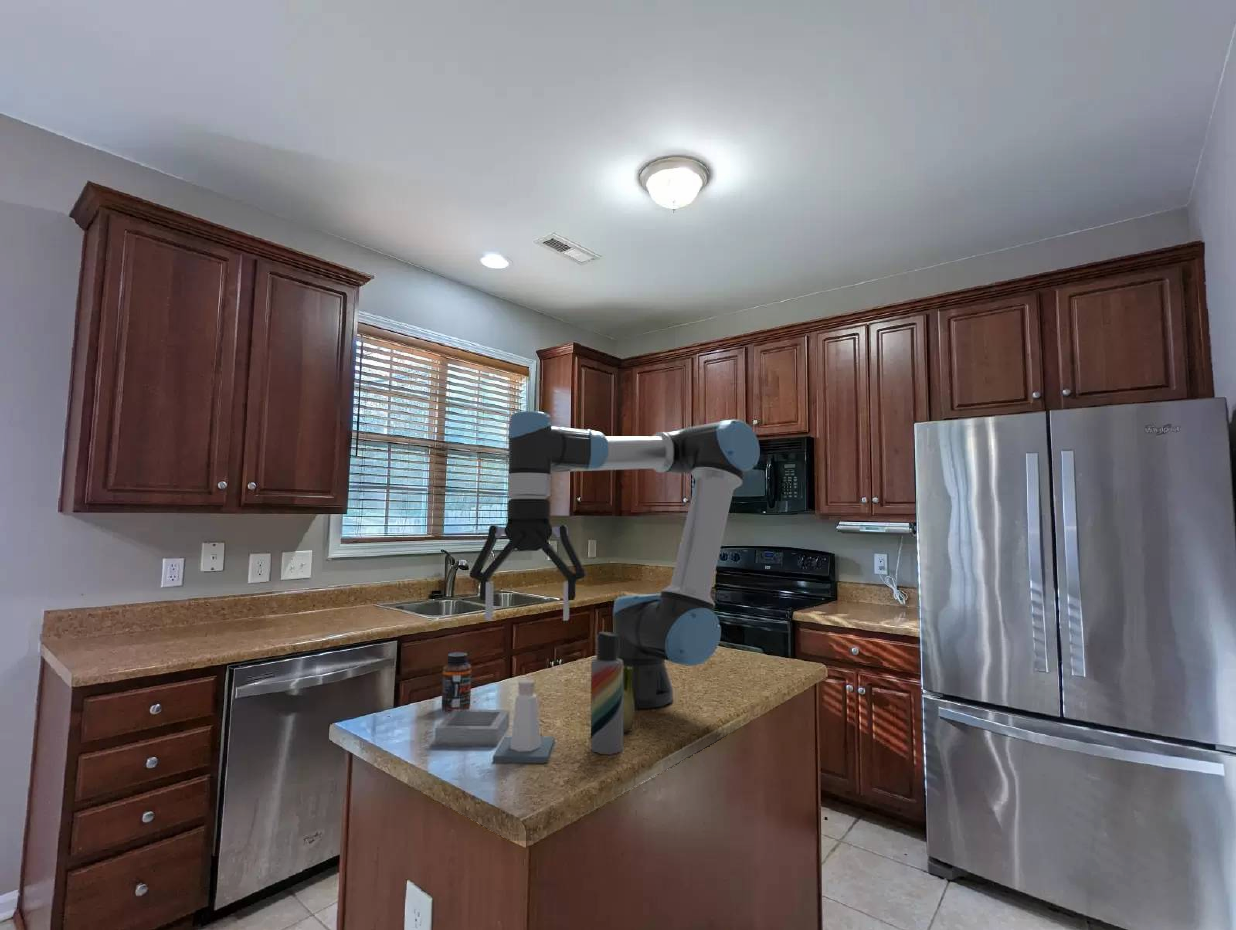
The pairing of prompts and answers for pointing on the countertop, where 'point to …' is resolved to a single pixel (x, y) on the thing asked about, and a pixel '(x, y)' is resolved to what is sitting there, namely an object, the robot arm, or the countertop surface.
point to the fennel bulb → (628, 700)
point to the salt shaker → (525, 719)
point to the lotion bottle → (607, 696)
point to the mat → (535, 756)
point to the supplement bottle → (456, 682)
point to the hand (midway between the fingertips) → (527, 619)
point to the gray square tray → (472, 728)
